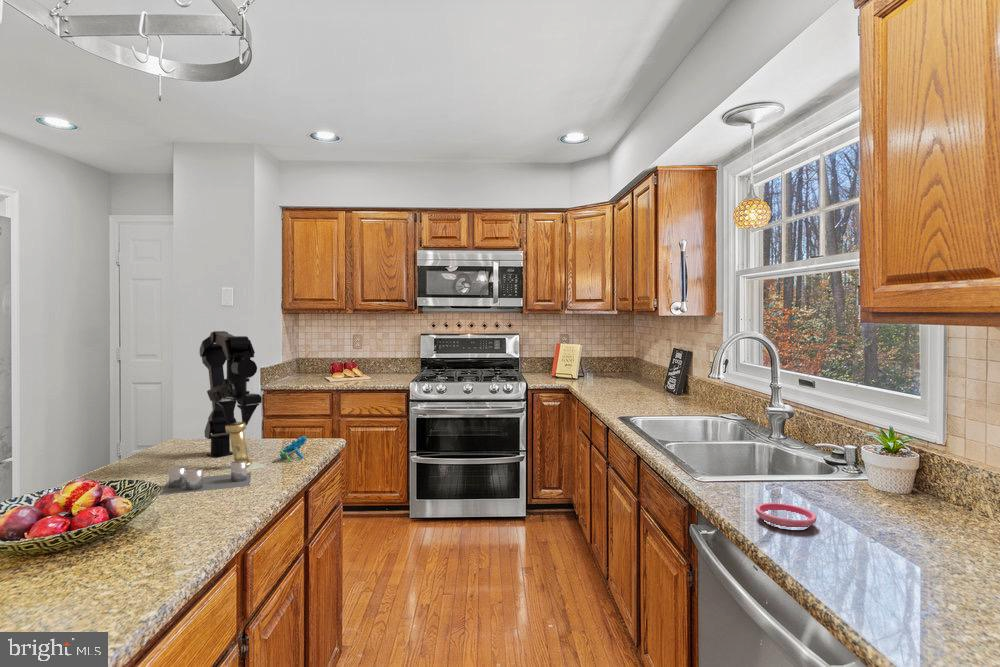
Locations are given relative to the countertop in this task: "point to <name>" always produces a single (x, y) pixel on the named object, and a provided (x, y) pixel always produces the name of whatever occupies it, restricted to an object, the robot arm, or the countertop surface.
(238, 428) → the brass post
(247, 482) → the grey peg base
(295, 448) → the blue and green figurine
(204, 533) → the countertop surface
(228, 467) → the pad
